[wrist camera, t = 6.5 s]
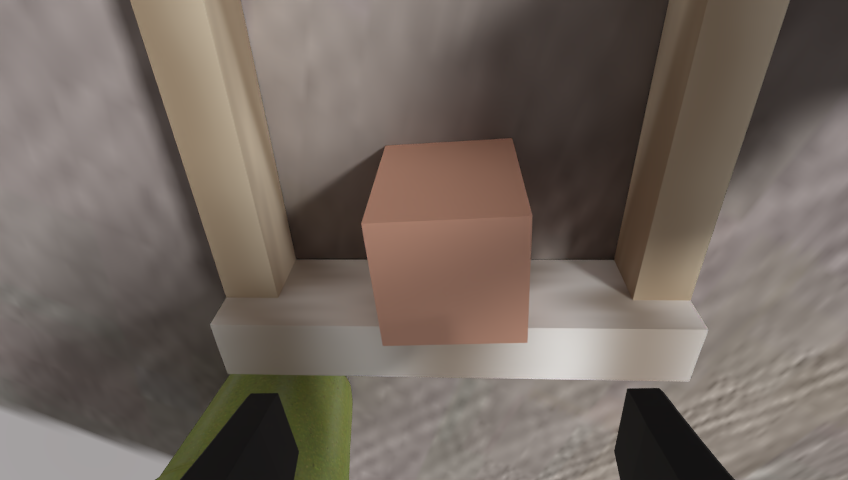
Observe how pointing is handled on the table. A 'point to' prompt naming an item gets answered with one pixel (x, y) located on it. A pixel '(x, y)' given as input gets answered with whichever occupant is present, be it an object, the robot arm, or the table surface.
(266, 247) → the wooden u-shaped frame
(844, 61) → the table surface
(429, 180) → the block
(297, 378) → the plant pot
